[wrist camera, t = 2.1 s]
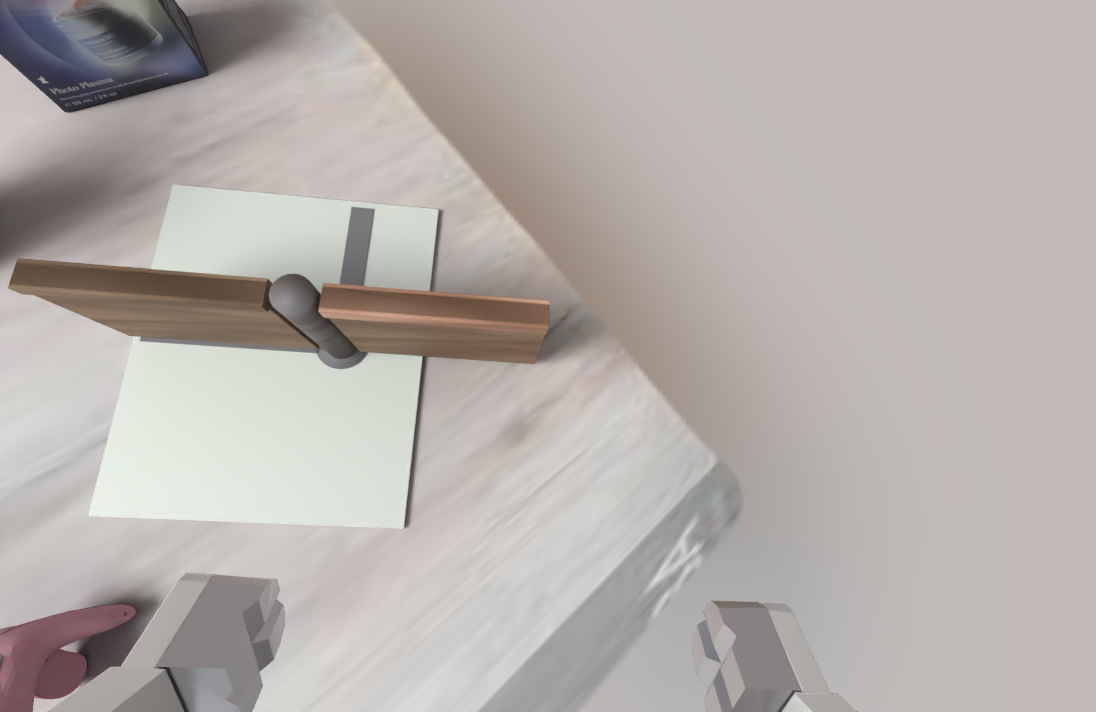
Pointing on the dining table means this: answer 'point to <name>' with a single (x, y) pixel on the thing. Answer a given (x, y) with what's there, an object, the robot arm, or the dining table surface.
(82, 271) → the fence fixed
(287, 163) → the dining table surface
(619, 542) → the dining table surface
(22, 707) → the video game controller
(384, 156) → the dining table surface
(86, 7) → the small box
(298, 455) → the card
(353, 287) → the fence panel
